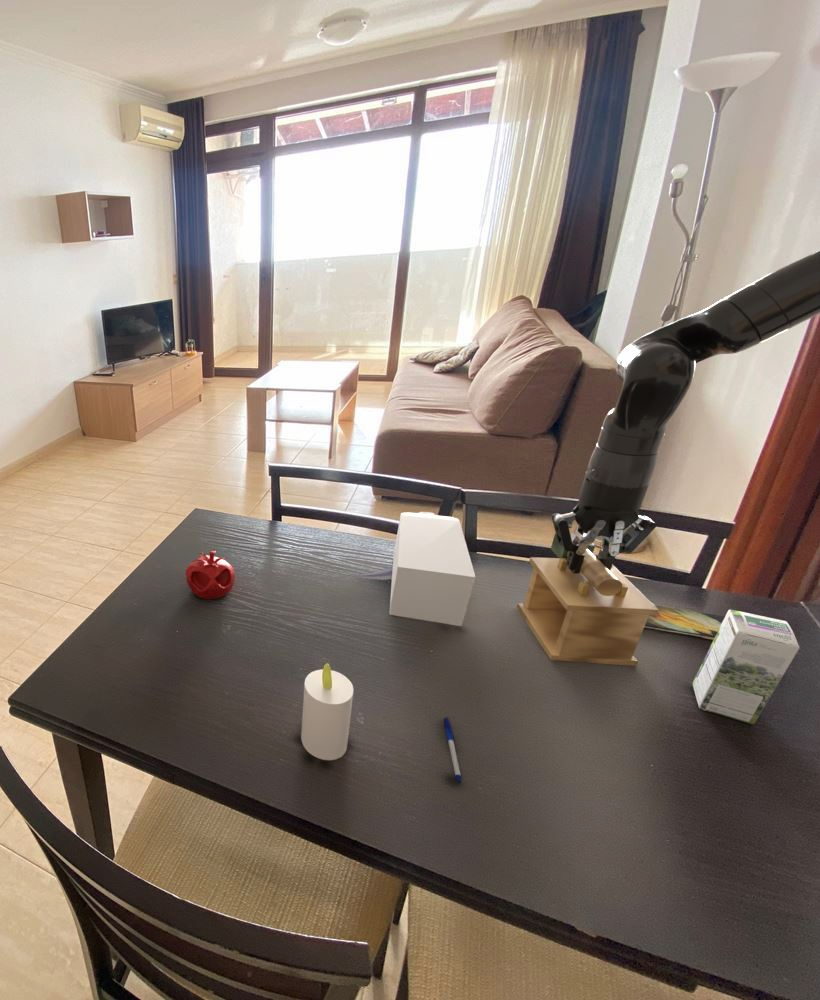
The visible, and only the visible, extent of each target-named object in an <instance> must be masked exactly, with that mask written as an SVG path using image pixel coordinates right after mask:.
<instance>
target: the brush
mask: <svg viewBox="0 0 820 1000" xmlns="http://www.w3.org/2000/svg"><path fill="white" fill-rule="evenodd" d="M570 535H571V539H572V538H573V536H574V533H570ZM595 547H596V545H595V544H594V542H593V543H592V544H589V546H588V548H587V549H586V551H585V553H584V555H585V557H584V560H583V563H582V566H581V569H580V572H581V573H582V574H583V575H584V576H585V578H586V579H587V580H588V581H589V582H590V583H591V584H592V585H593V587H594V588H595V589H596V590H597V591H598V592H599V593H600V594H601V595H604V596H612V595H615V594H617V593H619V592H620V591H621V589H622V583H621V581H620V580H619V579H618V578H617V577H616V576H615V575H614V574H613V573H612V572H611V571H610V570H609V569H608V568H607V567H606V566H605V565H604V564H603V563H602V562H601V561H600V560H599V559H598V558H597V557H598V556H596V555H595V554H594V551H595ZM550 550H551V551H552V552H553V553H554V555H555V556H556V558H559V559H560V558H565V559H566V560H567V557H568V554H569V551H566V550H565V549H564V548H563V547H562V546H561V545H560V544H559V543H558V540H557V536H556V532H554V536H553V539H552V542H551V546H550Z"/></svg>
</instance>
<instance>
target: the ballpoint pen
mask: <svg viewBox="0 0 820 1000" xmlns="http://www.w3.org/2000/svg"><path fill="white" fill-rule="evenodd" d="M443 724H444V729H445V734H446V739H447V742H448V747H449V751H450V756H451V761H452V766H453V771H454V776H455V778H456V781H457V783H460V784H461V783H462V773H461V770H460V765H459V760H458V755H457V752H456V747H455V746H456V745H455V742H454V736H453V732H452V727H451V722H450V719H449V718H448V717H444V719H443Z"/></svg>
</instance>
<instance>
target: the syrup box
mask: <svg viewBox="0 0 820 1000" xmlns="http://www.w3.org/2000/svg"><path fill="white" fill-rule="evenodd" d="M799 650H800V645H799V643H798V640H797V638H796V635H795V633H794V631H793V629H792V627H791V626H790V624H789V623H788V621H787V620H782V619H777V618H774V617H773V618H772V617H768V616H763V615H759V614H755V613H749V612H745V611H739V610H735V609H730V608H729V609H728V611H727V612H726V614H725V618H724V620H723V622H722V624H721V626H720V628H719V630H718V632H717V634H716V636H715V638H714V640H712V642H711V644H710V646H709V649H708V650H707V652H706V655H705V657H704V659H703V661H702V662H701V665H700V667H699V669H698V670H697V672H696V675H695V677H694V679H693V681H692V682H691V684H692V687H693V691H694V694H695V699H696V702H697V705H698V709H699V710H701V711H705V712H707V713H711V714H715V715H718V716H722V717H726V718H729V719H732V720H736V721H740V722H742V723H747V724H749V725H755V723H756V722H757V720H758V718H759V717H760V715H761V713H762V711H763V710H764V708H765V706H766V705H767V703H768V702H769V700H770V698H771V696H772V695H773V693H774V691H775V690H776V688H777V687H778V685H779V683H780V681H781V680H782V678H783V676H784V675H785V673H786V671H787V670H788V668H789V667H790V665H791V663H792V661H793V660H794V658H795V657H796V655H797V654H798V651H799Z"/></svg>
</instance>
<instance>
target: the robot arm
mask: <svg viewBox="0 0 820 1000" xmlns="http://www.w3.org/2000/svg"><path fill="white" fill-rule="evenodd" d="M818 315H820V250H817V251H815V252H813V253H811V254H808V255H807V256H804V257H802V258H800V259H798V260H795V261H793V262H792V263H789V264H787V265H785V266H783V267H782V268H779V269H777V270H775V271H773V272H771V273H769V274H767V275H765V276H763V277H761V278H760V279H757V280H756V281H754V282H752V283H750V284H748V285H745V287H743V288H741V289H739V290H737V291H735V292H733V293H732V294H730V295H728V296H725V297H724V298H723V299H720V300H719V301H717V302H715V303H714V304H712V305H710V306H709V307H707V308H705V309H703V310H701V311H698V312H696V313H694V314H690V315H688V316H686V317H683V318H681V319H678V320H676V321H674V322H671V323H669V324H666V325H664V326H661V327H659V328H657V329H655V330H653V331H650V332H648V333H646V334H645V335H643V336H641V337H639V338H637V339H635V340H634V341H633V342H631V343H630V344H628V345H627V346H626V347H625V348H624V349H623V350H622V351H621V352H620V353H619V355H618V357H616V360H615V372H616V374H617V376H618V378H619V379H620V380H621V381H622V388H621V391H620V394H619V396H618V400H617V402H616V405H615V407H613V408H611V409H610V410H609V411H608V412H607V414H606V416H605V417H604V419H603V422H602V425H601V427H600V428H601V429H600V432H599V435H598V438H597V442H596V444H595V447H594V449H593V451H592V454H591V455H590V458H589V462H588V464H587V468H586V471H585V474H584V477H583V482H582V484H581V488H580V491H579V494H578V502H577V504H576V506H575V507H574V508H573V509H572V511H571V512H569V513H564V514H560V513H554V514H552V515H551V520H552V524H553V528H554V533H556V536H557V540H558V543H559V544H560V545H561V546H562V547H563V548H564V549H565V550H566V551H569V554H568V557H567V560H566V566H567V567H568V568H569V569H570V570H571V572H572V573H576V574H579V573H580V569H581V566H582V563H583V560H584V557H585V555H584V553H585V551H586V549H587V548H588V546H589V544H592V543H593V544H594V542H595V540H596V539H597V537H602V541H601V547H602V548H599V552H598V553H597V554H598V555H597V556H596V557H597V558H598V559H599V560H600V561H601V562H602V563H603V564H604V565H605V566H606V567H607V568H608V569H609V570H611V568H612V565H614V562H615V560H616V557H617V556H618V555H620V554H622V553H625V554H631V553H633V552H634V551H635V550H636V549H637V547H639V546H640V545H641V543H642V542H644V540H645V539H646V538H647V537H648V536H649V535H650V534H651V533H652V532H653V531H654V530H655V529H656V528H657V523H656V522H655V521H653V520H652V519H651V518H650V517H648V516H647V515H640V513H639V510H640V509H641V508H642V506H643V503H644V500H645V497H646V494H647V492H648V489H649V487H650V486H649V485H650V484H651V481H652V478H653V474H654V472H655V469H656V466H657V459H658V454H659V451H660V448H661V445H662V443H663V440H664V437H665V434H666V431H667V426H668V424H669V422H670V420H672V417H673V416H674V414H675V413H677V410H678V408H679V407H680V405H681V403H682V402H683V401H684V399H685V397H686V395H687V393H688V392H689V389H690V387H691V385H692V383H693V379H694V376H695V372H696V364H698V363H700V362H703V361H705V360H707V359H711V358H712V357H715V356H718V355H732V354H738V353H740V352H743V351H746V350H749V349H750V348H752V347H754V346H757V345H760V344H761V343H763V342H765V341H768V340H769V339H771V338H774V337H775V336H777V335H779V334H781V333H784V332H786V331H788V330H790V329H791V328H794V327H796V326H798V325H800V324H801V323H804V322H806V321H807V320H810V319H812V318H814V317H816V316H818ZM574 522H576V527H575V529H574V530H573V534H574V536H573V538H572V539H571V535H570V534H571V532H570V531H571V530H570V529H572V527H573V523H574ZM624 531H625V532H624Z"/></svg>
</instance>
